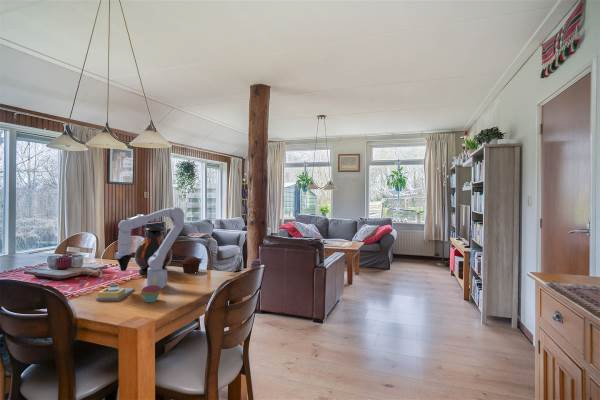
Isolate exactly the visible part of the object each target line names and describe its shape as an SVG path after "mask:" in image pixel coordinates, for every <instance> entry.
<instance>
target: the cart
mask: <svg viewBox="0 0 600 400" xmlns="http://www.w3.org/2000/svg"><path fill="white" fill-rule="evenodd" d="M107 288H108V292H118V291H119V288H120V286H119V284H118V283H115V284H109V286H108V287H107Z"/></svg>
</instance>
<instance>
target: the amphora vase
mask: <svg viewBox="0 0 600 400" xmlns="http://www.w3.org/2000/svg"><path fill="white" fill-rule="evenodd" d="M166 230H167V229H166V228H165V227H158V226H156V227H153V226H152V227H151V226H149V227H144V228H143V231H144V232H146V237H145V238H144V239H143V240H142V241H141V242H140V243H139V244H138V246H137V248H136V249H135V254H134V262H135V264H136V265H137V267H139V269H138V273H140V274H141V275H144V274H146V275H147V273H148V268H149V267H150V266H149V265H148V259H149V258H150V257H151V256H153V255H154V253H155V252H156V251H157V250H158V249H159V247H160V246H161V244H162V242H163V241H164V239H165V238H164V237H163V232H165V231H166ZM172 260H173V251H172V247H171V248H170V249H169V251H168V252H167V254H166V256H165V260H164V261H163V266H162V269H163V270H167V271H168V268H167V267H168V265H170V264H171V262H172Z"/></svg>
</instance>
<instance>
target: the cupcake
mask: <svg viewBox="0 0 600 400" xmlns="http://www.w3.org/2000/svg"><path fill="white" fill-rule="evenodd" d="M156 275H157V274H156ZM156 277H157V276H155V279H154V285H149V286H147V287H145V286H144V287H143V288H142V289H141V291H140V294H141V295H142V296H143V297H144V301H145V302H147V303H154V302H157V301H158V297H159V295H160V294H161V293H162V288H160V286H157V285H155V282H156Z"/></svg>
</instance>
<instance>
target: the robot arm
mask: <svg viewBox="0 0 600 400" xmlns="http://www.w3.org/2000/svg"><path fill="white" fill-rule="evenodd" d="M162 217H166V218H170V219H171V221H172V227H171V229H170V230H169V232H168V233H167V234H166V237H165V238H164V241H163V242H162V244H161V246H160V247H159V249H158V250H157V251H156V252H155V253H154V255H153V256H151V257H150V258H149V259H148V265H149V266H150V267H149V268H148V273H147V279H146V281H147V282H146V285H145V286H144V287H147V286H149V285H154V279H155V276H157V277H156V282H155V285H157V286H160V288H161V289H163V288H165V287H166V286H168V269H167V270H163V269H162V266H163V261H164V260H165V256H166V254H167V252H168V251H169V249H170V248H171V249H172V246H173V244H174V242H175V241H176V239H177V238H178V237H179V235H180V233H181V232H182V230H183V229H184V225H185V213H184V210H183V209H182V208H181V207H176V206H171V207H168V208H167V207H166V208H162V209H160V210H158V211H157V210H156V211H154V212H152V213H149V214H146V215H145V214H140V213H138V214H136V216H133V217H127V218H126V219H122V220H120V221H119V222H118V225H117V228H118V235H117V237H118V238H117V251H116V252H114V255H115V256H114V259H115V260H117V262H118V264H119V268H120V271H123V272H126V271H127V270H128V266H129V263H130V260H131V258H132V255H133V250H132V249H131V248H132V247H131V246H132V233H131V232H132V229H133V230H135V229H136V228H141V227H143V226H146V225H147V223H148V222H149V221H150V222H151V221H153V220H156V219H160V218H162ZM156 274H157V275H156Z"/></svg>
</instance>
